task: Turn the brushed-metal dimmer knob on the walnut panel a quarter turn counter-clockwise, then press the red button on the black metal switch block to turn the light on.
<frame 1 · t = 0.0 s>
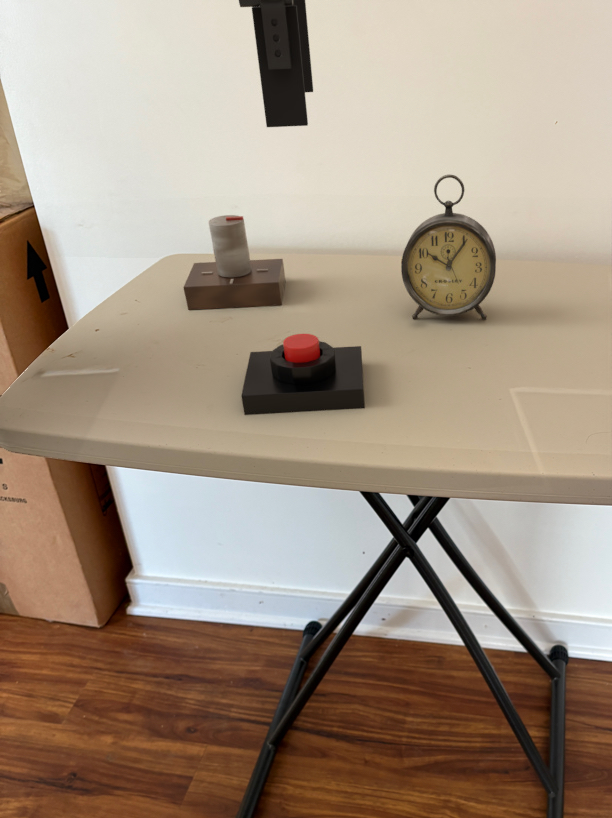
hand: (292, 107, 56), 27 cm above the table, tool pointing down, fingers open, 13 cm apart
dimmer knob: (230, 245, 97), point 6 cm above the table, hinge at 0.0°
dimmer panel: (238, 294, 101), on the table
alarm clock: (449, 318, 94), on the table
light button: (301, 348, 77), point 4 cm above the table, slide at 0.1 cm
switch block: (306, 388, 80), on the table
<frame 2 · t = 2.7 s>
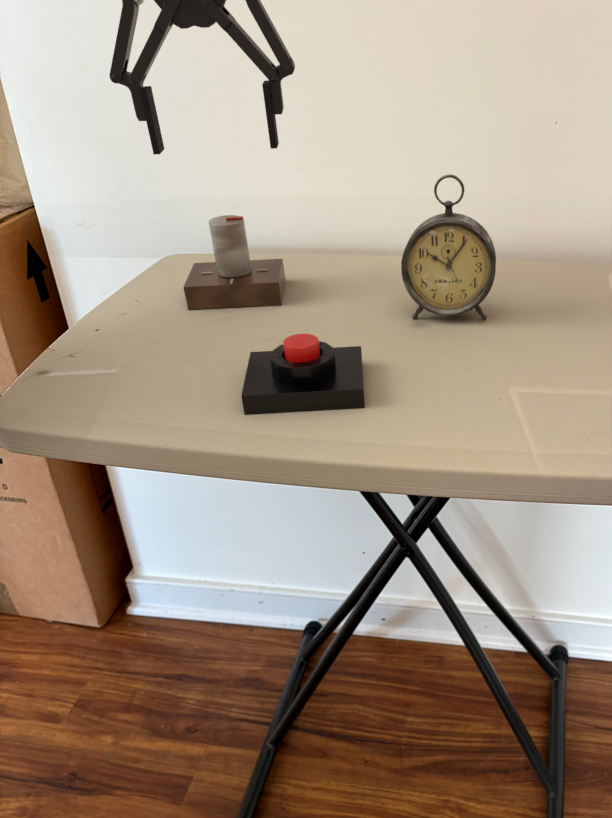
hand: (217, 149, 89), 18 cm above the table, tool pointing down, fingers open, 13 cm apart
nothing on the table moved.
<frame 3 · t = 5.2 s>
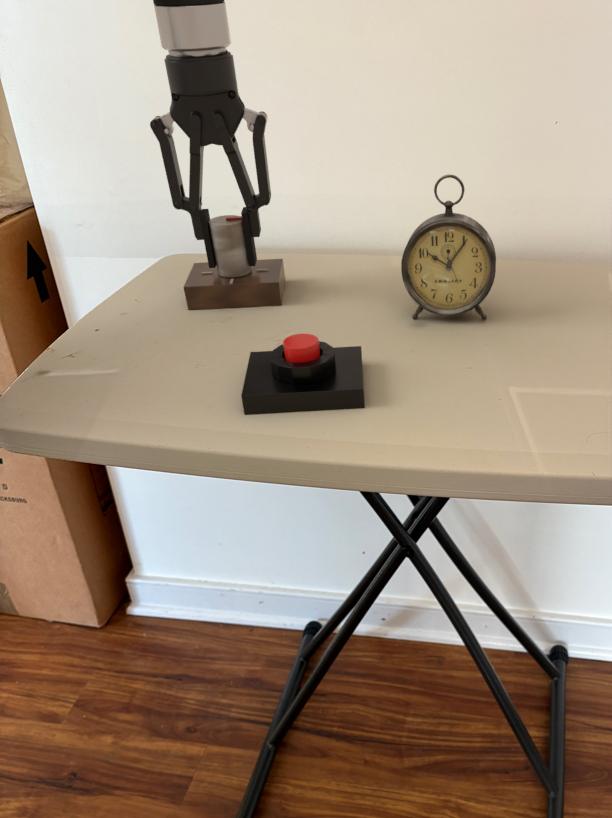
hand: (233, 263, 98), 4 cm above the table, tool pointing down, fingers closed on dimmer knob, 4 cm apart
dimmer knob: (230, 245, 97), point 6 cm above the table, hinge at 0.0°, touching gripper
everything else where it was.
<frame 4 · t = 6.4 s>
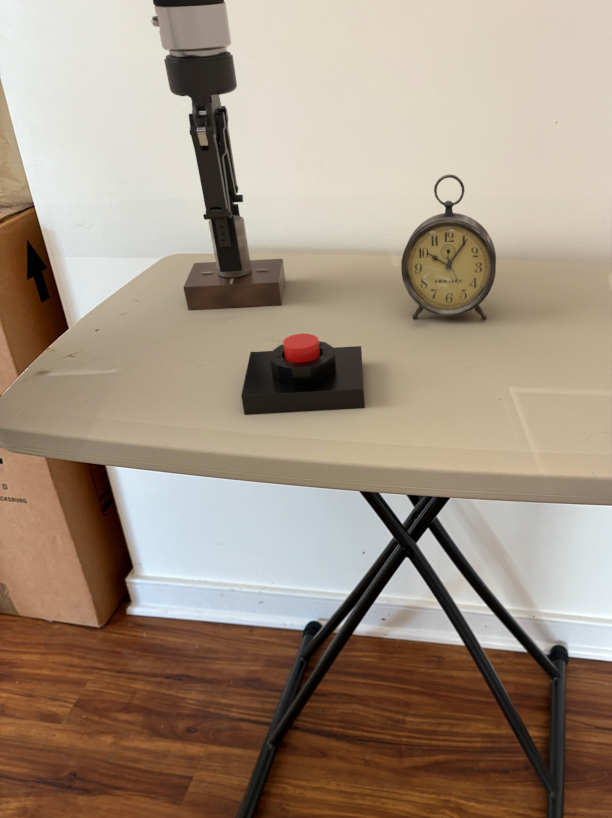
hand: (233, 263, 98), 4 cm above the table, tool pointing down, fingers closed on dimmer knob, 4 cm apart
dimmer knob: (230, 245, 97), point 6 cm above the table, hinge at 90.2°, touching gripper
everything else where it was.
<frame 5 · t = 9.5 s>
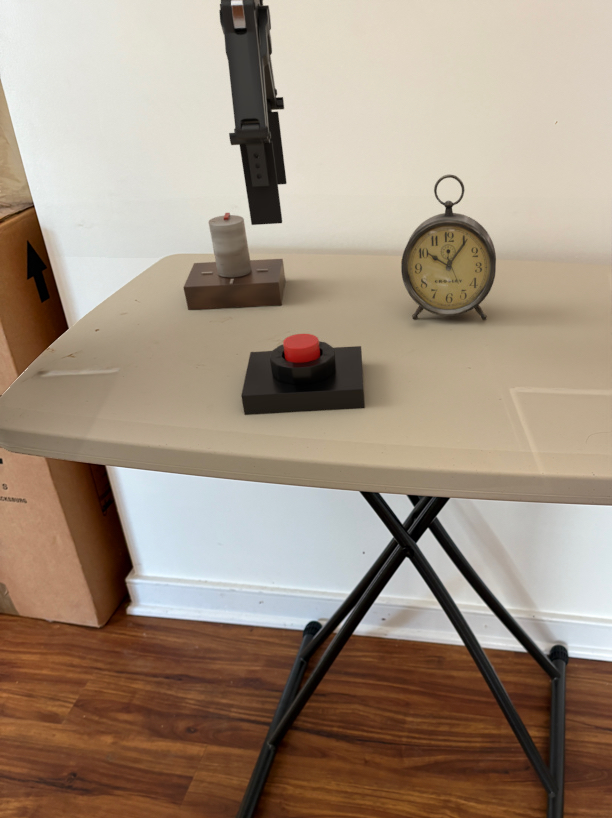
hand: (270, 202, 73), 17 cm above the table, tool pointing down, fingers open, 13 cm apart
dimmer knob: (230, 245, 97), point 6 cm above the table, hinge at 90.3°
everything else where it was.
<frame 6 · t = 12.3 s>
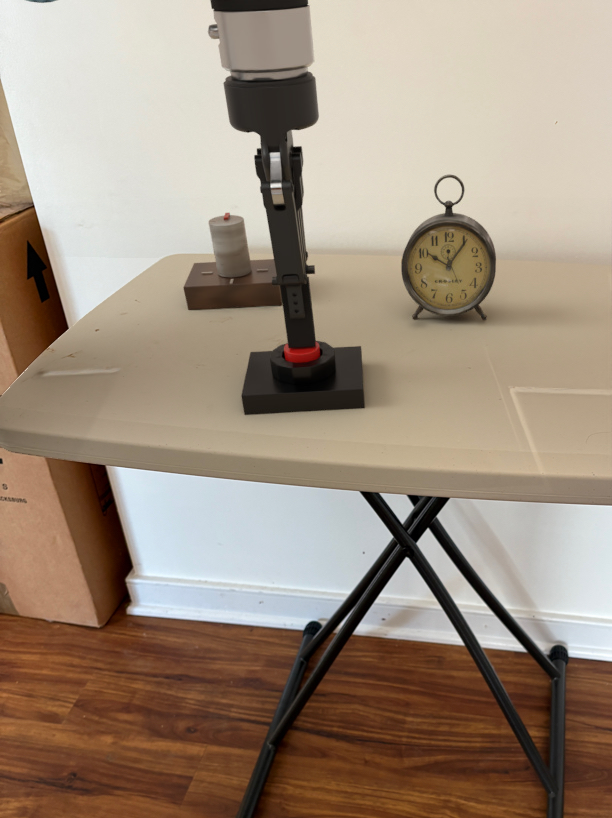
hand: (302, 343, 76), 5 cm above the table, tool pointing down, fingers closed
light button: (302, 354, 77), point 4 cm above the table, slide at -0.5 cm, touching gripper
everything else where it was.
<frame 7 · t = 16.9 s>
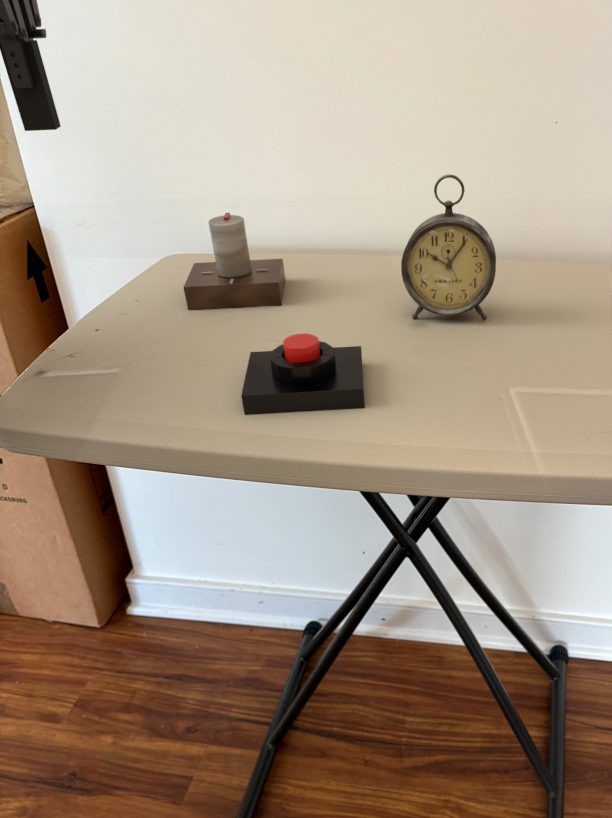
hand: (42, 128, 67), 24 cm above the table, tool pointing down, fingers closed
light button: (301, 348, 77), point 4 cm above the table, slide at 0.1 cm
everything else where it was.
at the end: dimmer knob at +90° (first picture: +0°); light button pushed in 1.0 cm at the most during the clip, back to where it started at the end; light button slide at 0.1 cm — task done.
